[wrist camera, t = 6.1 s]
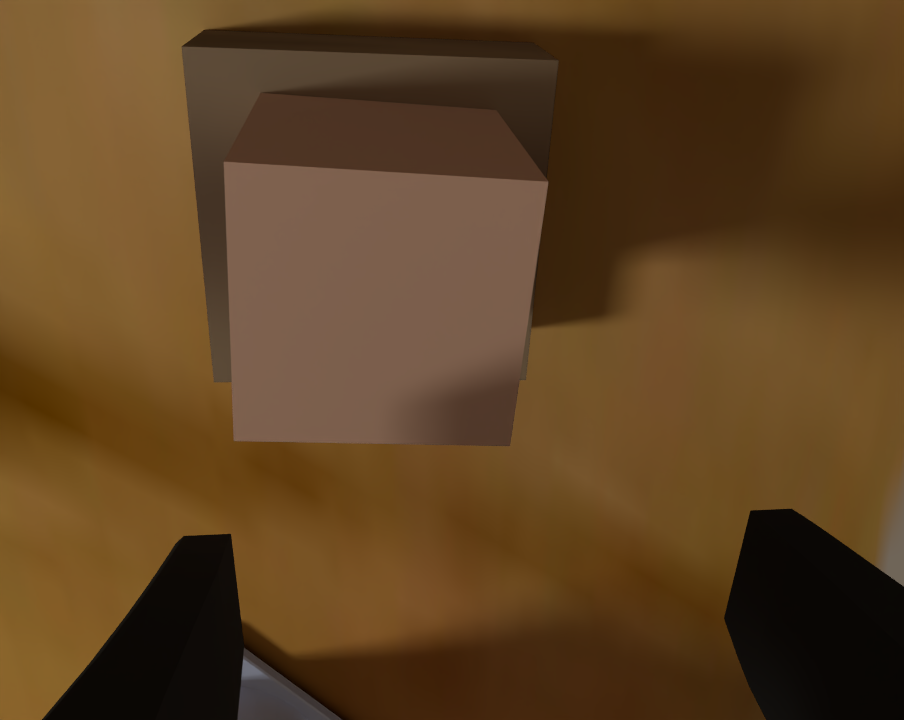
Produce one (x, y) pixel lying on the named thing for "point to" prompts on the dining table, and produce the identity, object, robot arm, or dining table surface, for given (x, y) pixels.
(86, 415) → the dining table surface
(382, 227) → the terracotta cube
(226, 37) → the walnut slab
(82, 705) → the robot arm
